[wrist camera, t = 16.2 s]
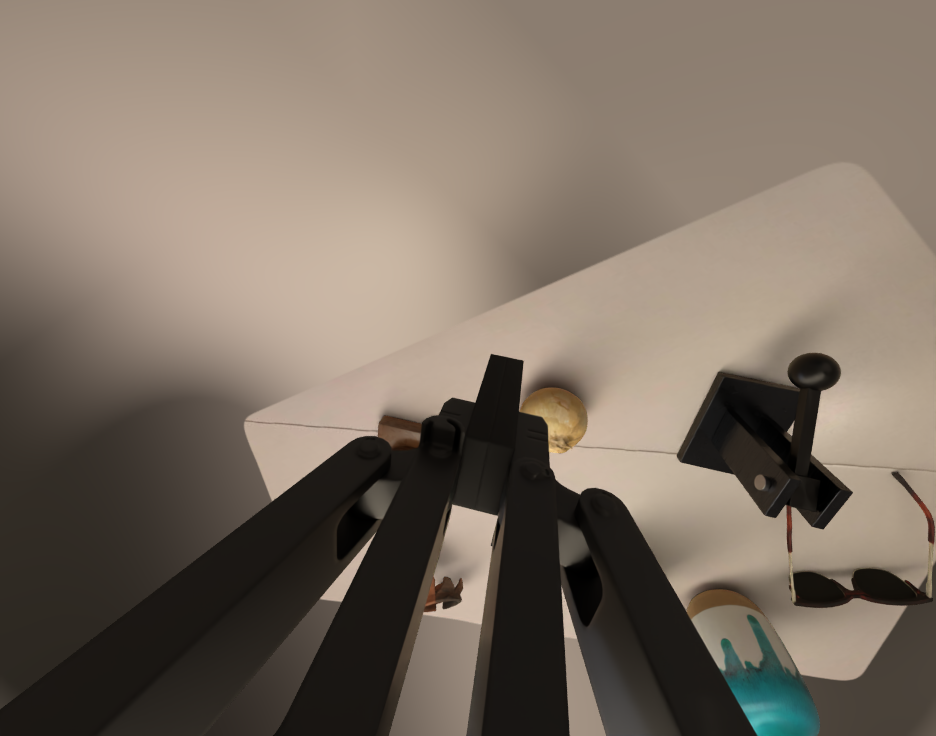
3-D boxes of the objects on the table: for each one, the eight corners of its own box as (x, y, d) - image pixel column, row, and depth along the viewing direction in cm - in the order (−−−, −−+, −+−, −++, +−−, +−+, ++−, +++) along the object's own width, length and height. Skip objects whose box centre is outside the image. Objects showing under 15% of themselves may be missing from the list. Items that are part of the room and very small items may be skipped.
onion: (512, 421, 48) (508, 454, 42) (532, 370, 45) (532, 397, 38) (570, 441, 48) (575, 477, 42) (595, 391, 45) (605, 422, 38)
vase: (722, 632, 57) (803, 817, 40) (661, 604, 57) (715, 778, 40) (774, 595, 52) (889, 787, 35) (707, 564, 52) (791, 742, 35)
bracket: (718, 371, 41) (788, 436, 30) (803, 388, 40) (910, 462, 29) (676, 455, 46) (722, 539, 35) (751, 472, 45) (823, 564, 34)
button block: (384, 414, 51) (372, 430, 48) (453, 430, 51) (446, 448, 47) (380, 479, 57) (369, 498, 53) (442, 495, 56) (436, 515, 52)
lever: (781, 351, 36) (812, 346, 32) (819, 359, 36) (855, 355, 32) (756, 495, 35) (786, 506, 32) (796, 504, 35) (830, 516, 31)
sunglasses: (773, 574, 51) (796, 609, 46) (765, 479, 46) (790, 506, 42) (898, 568, 47) (936, 605, 42) (903, 463, 43) (947, 492, 38)
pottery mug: (452, 537, 60) (460, 594, 54) (463, 552, 67) (471, 605, 61) (381, 554, 60) (382, 614, 54) (399, 568, 67) (401, 622, 61)
